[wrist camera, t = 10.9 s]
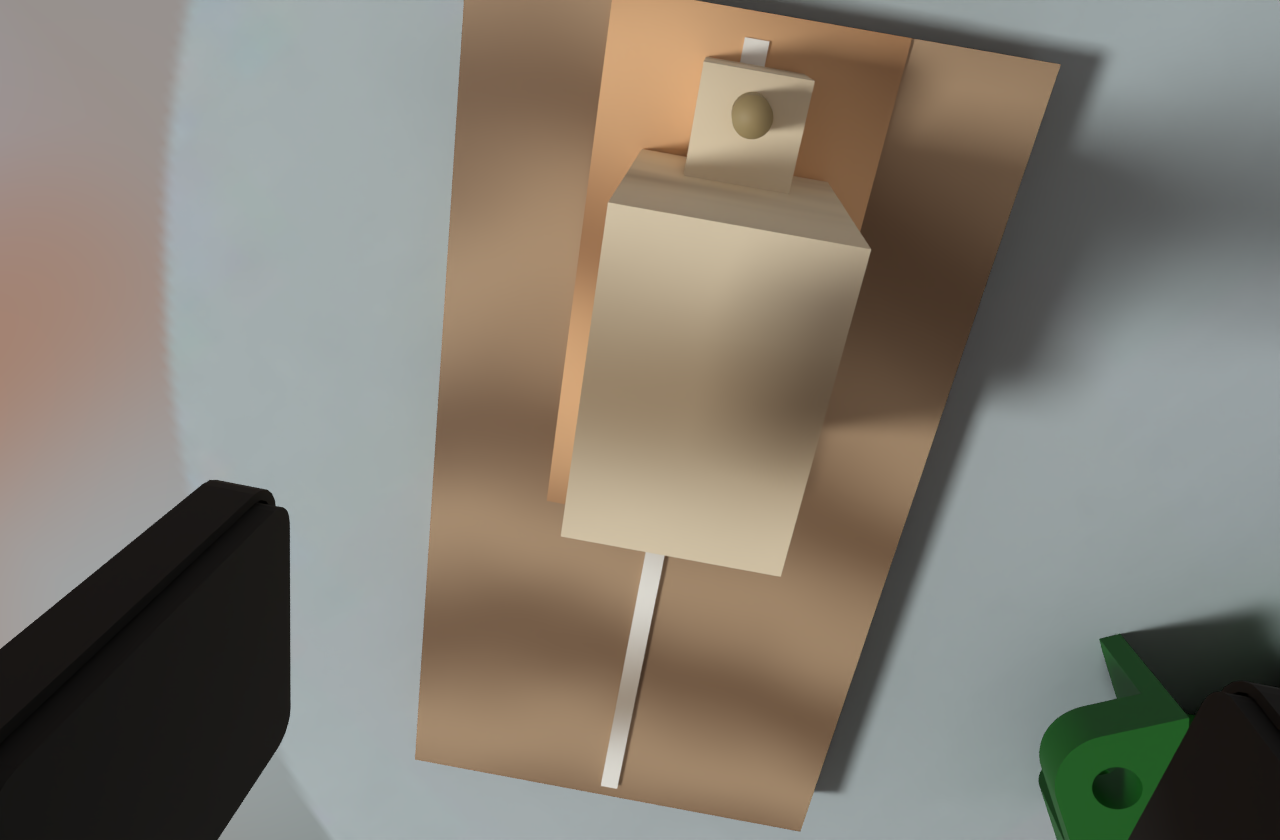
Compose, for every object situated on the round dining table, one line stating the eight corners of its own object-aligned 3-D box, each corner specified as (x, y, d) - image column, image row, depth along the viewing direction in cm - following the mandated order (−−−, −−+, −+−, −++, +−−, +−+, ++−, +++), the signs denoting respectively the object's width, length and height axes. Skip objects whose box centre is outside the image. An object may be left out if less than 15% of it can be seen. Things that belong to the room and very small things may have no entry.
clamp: (1262, 525, 28) (1645, 600, 19) (1309, 694, 28) (1698, 843, 19) (936, 681, 25) (1190, 848, 17) (995, 858, 26) (1270, 1109, 17)
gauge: (748, 503, 22) (756, 663, 16) (591, 474, 22) (548, 624, 16) (852, 82, 18) (909, 109, 12) (657, 47, 18) (628, 60, 12)
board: (796, 792, 28) (800, 835, 26) (429, 723, 28) (413, 762, 27) (1036, 61, 19) (1063, 64, 17) (485, -36, 19) (464, -40, 17)
